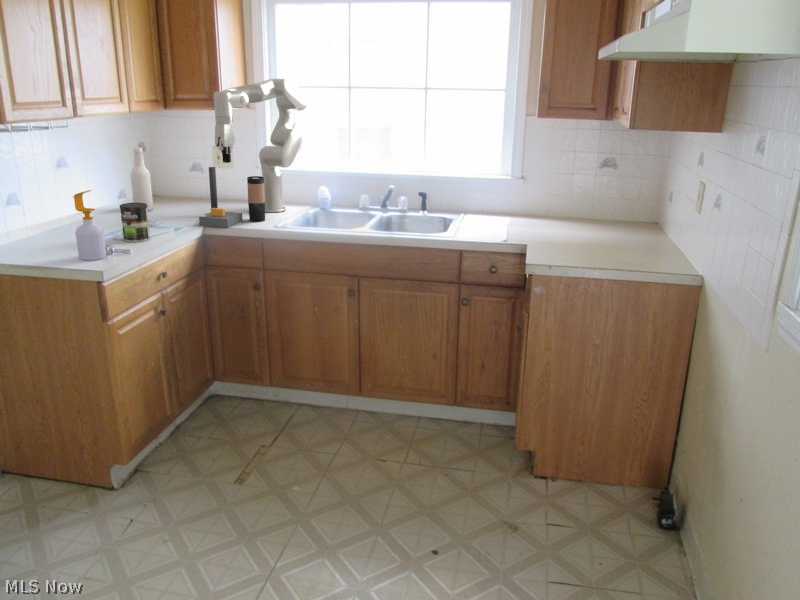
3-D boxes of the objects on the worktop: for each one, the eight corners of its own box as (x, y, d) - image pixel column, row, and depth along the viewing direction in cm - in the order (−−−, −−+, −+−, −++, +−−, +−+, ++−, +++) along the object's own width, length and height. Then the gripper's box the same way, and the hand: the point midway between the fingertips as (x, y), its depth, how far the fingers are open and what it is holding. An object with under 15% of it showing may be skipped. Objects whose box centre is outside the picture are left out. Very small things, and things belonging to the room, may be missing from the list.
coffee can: (142, 243, 256) (138, 207, 251) (118, 241, 257) (114, 206, 252) (155, 237, 266) (152, 203, 261) (132, 235, 267) (128, 201, 262)
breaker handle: (213, 214, 290) (212, 207, 289) (225, 215, 289) (224, 208, 288) (211, 215, 289) (210, 208, 288) (223, 216, 287) (222, 209, 286)
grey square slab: (215, 219, 300) (214, 210, 299) (242, 221, 297) (242, 212, 296) (199, 225, 288) (198, 216, 286) (227, 227, 285) (227, 218, 283)
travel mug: (267, 219, 304) (266, 176, 298) (262, 222, 297) (261, 178, 290) (252, 218, 305) (250, 175, 298) (246, 221, 298) (244, 178, 291)
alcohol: (147, 212, 310) (141, 149, 301) (130, 211, 312) (123, 148, 302) (157, 208, 319) (151, 147, 309) (140, 207, 320) (133, 146, 310)
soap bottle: (96, 261, 229) (87, 193, 221) (73, 259, 231) (63, 191, 223) (111, 255, 238) (103, 189, 230) (89, 253, 239) (80, 187, 231)
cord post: (211, 214, 310) (208, 165, 303) (226, 215, 309) (224, 166, 301) (203, 217, 303) (199, 167, 295) (218, 218, 301) (215, 168, 294)
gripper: (224, 119, 293) (227, 159, 299) (207, 121, 279) (211, 164, 285) (239, 119, 291) (242, 160, 297) (223, 122, 277) (226, 164, 284)
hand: (226, 162), depth 291 cm, fingers closed
